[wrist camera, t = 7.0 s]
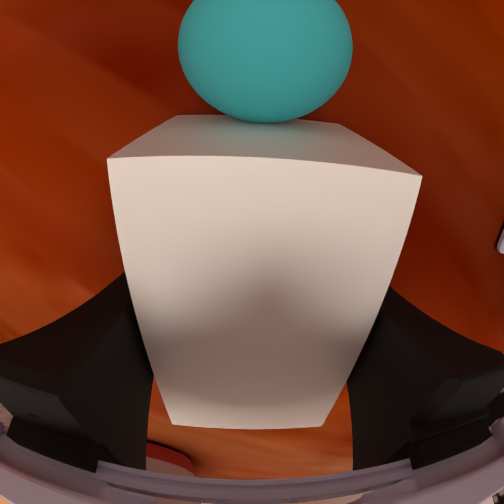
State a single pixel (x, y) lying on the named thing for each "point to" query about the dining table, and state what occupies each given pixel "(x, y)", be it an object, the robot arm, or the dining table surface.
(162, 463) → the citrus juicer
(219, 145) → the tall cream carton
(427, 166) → the dining table surface
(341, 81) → the ball
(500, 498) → the white-spotted black cylinder
